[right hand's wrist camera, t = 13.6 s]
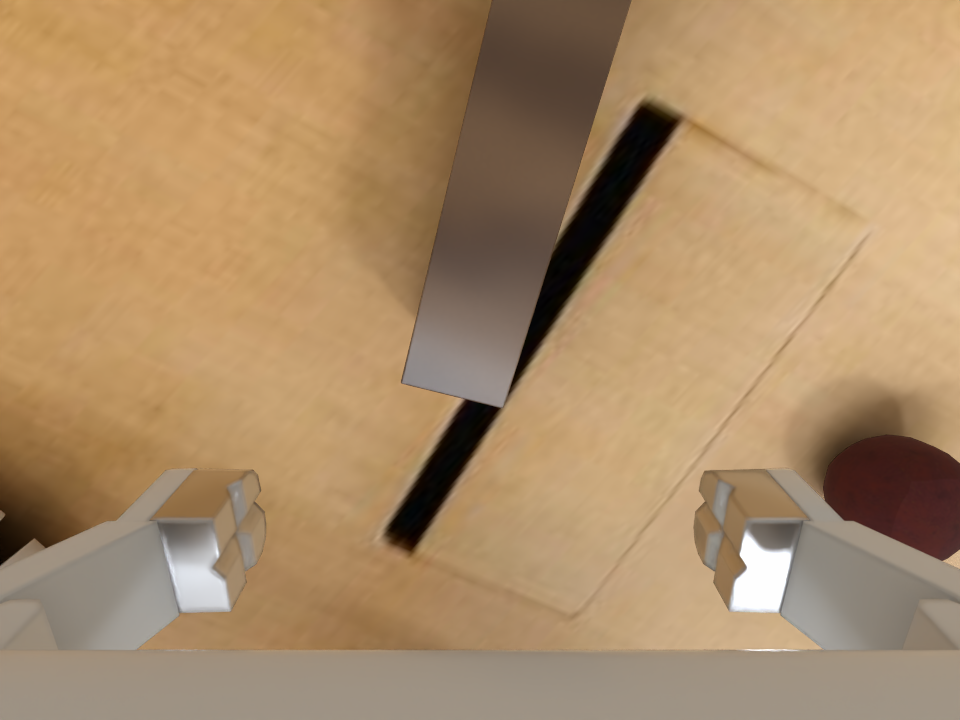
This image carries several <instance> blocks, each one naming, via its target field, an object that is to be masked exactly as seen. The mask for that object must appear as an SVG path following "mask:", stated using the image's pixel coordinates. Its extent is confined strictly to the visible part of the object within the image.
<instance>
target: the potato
mask: <svg viewBox="0 0 960 720" xmlns="http://www.w3.org/2000/svg"><path fill="white" fill-rule="evenodd" d="M823 490H824V497H825V502H826V503H827V504H828V505H829V506H830V507H831V508H832V509H833V510H834V511H835V512H836V513H837V514H838V515H839V516H840V517H841V518H842V519H843V520H844V521H854V522H857V523H859V524H861V525H863V526H866V527H868V528H870V529H872V530H874V531H877V532H879V533H881V534H883V535H885V536H888V537H890V538H892V539H894V540H896V541H899V542H901V543H903V544H905V545H908V546H910V547H912V548H914V549H916V550H919V551H921V552H923V553H925V554H927V555H930V556H932V557H934V558H936V559H939V560H941V561H943V560H945V559H947V558H949V557H950V556H952V555H953V554H954V553H956V552H957V551H958V550H960V463H959V462H958V461H956V460H955V459H954V458H953V457H951V456H950V455H949V454H947V453H945V452H943V451H941V450H940V449H938V448H936V447H934V446H931V445H929V444H926V443H924V442H921V441H919V440H916V439H913V438H911V437H904V436H895V435H882V436H877V437H871V438H867V439H864V440H861V441H859V442H857V443H855V444H853V445H851V446H849V447H848V448H847V449H845V450H844V451H843V452H841V453H840V454H839V455H838V456H836V458H835V459H834V460H833V461H832V462H831V464H830V465H829V466H828V470H827V473H826V477H825V480H824V486H823Z"/></svg>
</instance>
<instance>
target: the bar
mask: <svg viewBox="0 0 960 720" xmlns="http://www.w3.org/2000/svg"><path fill="white" fill-rule="evenodd" d="M630 4H631V0H492V3H491V7H490V11H489V16H488V20H487V24H486V28H485V32H484V37H483V41H482V45H481V49H480V53H479V57H478V62H477V66H476V70H475V74H474V78H473V83H472V87H471V91H470V95H469V99H468V103H467V108H466V112H465V116H464V120H463V124H462V129H461V133H460V137H459V141H458V145H457V149H456V154H455V158H454V162H453V166H452V170H451V175H450V179H449V183H448V187H447V191H446V196H445V200H444V204H443V208H442V212H441V216H440V221H439V225H438V229H437V233H436V237H435V242H434V246H433V250H432V254H431V258H430V262H429V267H428V271H427V275H426V279H425V283H424V288H423V292H422V296H421V300H420V304H419V309H418V313H417V317H416V321H415V325H414V329H413V334H412V338H411V342H410V346H409V350H408V355H407V359H406V363H405V367H404V371H403V375H402V380H401V383H402V384H406V385H410V386H414V387H418V388H422V389H426V390H430V391H434V392H438V393H443V394H447V395H451V396H455V397H459V398H463V399H467V400H471V401H475V402H479V403H483V404H488V405H492V406H496V407H500V408H503V407H504V405H505V401H506V398H507V395H508V392H509V389H510V385H511V382H512V379H513V376H514V373H515V370H516V366H517V363H518V360H519V357H520V354H521V350H522V347H523V344H524V341H525V338H526V335H527V331H528V328H529V325H530V322H531V319H532V315H533V312H534V309H535V306H536V303H537V300H538V296H539V293H540V290H541V287H542V284H543V280H544V277H545V274H546V271H547V268H548V265H549V261H550V258H551V255H552V252H553V249H554V245H555V242H556V239H557V236H558V233H559V230H560V226H561V223H562V220H563V217H564V214H565V210H566V207H567V204H568V201H569V198H570V195H571V191H572V188H573V185H574V182H575V179H576V175H577V172H578V169H579V166H580V163H581V159H582V156H583V153H584V150H585V147H586V144H587V140H588V137H589V134H590V131H591V128H592V124H593V121H594V118H595V115H596V112H597V109H598V105H599V102H600V99H601V96H602V93H603V89H604V86H605V83H606V80H607V77H608V74H609V70H610V67H611V64H612V61H613V58H614V54H615V51H616V48H617V45H618V42H619V39H620V35H621V32H622V29H623V26H624V23H625V19H626V16H627V13H628V10H629V7H630Z"/></svg>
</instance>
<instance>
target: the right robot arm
mask: <svg viewBox="0 0 960 720" xmlns="http://www.w3.org/2000/svg"><path fill="white" fill-rule="evenodd" d="M260 492H261V488H260V483H259V478H258V474H257V473H256V472H255V471H254V470H239V469H196V468H186V469H169V470H165V471H164V472H163V473H162V474H161V475H160V476H159V478H158V479H157V480H156V481H155V482H154V483H153V484H152V485H151V486H150V487H149V488H148V489H147V490H146V491H145V492H144V493H143V494H142V495H141V496H140V497H139V498H138V499H137V500H136V501H135V502H134V503H133V504H132V505H131V506H130V507H129V508H128V509H127V510H126V511H125V512H124V513H123V514H122V515H121V516H120V517H119V518H118V519H117V520H116V521H106V522H103V523H101V524H99V525H97V526H94V527H92V528H90V529H88V530H86V531H83V532H81V533H79V534H77V535H74V536H72V537H70V538H68V539H66V540H63V541H61V542H59V543H57V544H55V545H52V546H50V547H48V548H46V549H43V550H41V551H39V552H37V553H35V554H32V555H30V556H28V557H26V558H23V559H21V560H19V561H17V562H15V563H12V564H10V565H8V566H6V567H4V568H1V569H0V720H960V569H958V568H956V567H954V566H952V565H950V564H947V563H945V562H943V561H941V560H939V559H936V558H934V557H932V556H930V555H927V554H925V553H923V552H921V551H919V550H916V549H914V548H912V547H910V546H908V545H905V544H903V543H901V542H899V541H896V540H894V539H892V538H890V537H888V536H885V535H883V534H881V533H879V532H877V531H874V530H872V529H870V528H868V527H866V526H863V525H861V524H859V523H857V522H854V521H844V520H843V519H842V518H841V517H840V516H839V515H838V514H837V513H836V512H835V511H834V510H833V509H832V508H831V507H830V506H829V505H828V504H827V503H826V502H825V501H824V500H823V499H822V498H821V497H820V496H819V495H818V494H817V493H816V492H815V491H814V490H813V489H812V488H811V487H810V486H809V484H808V483H807V482H806V481H805V480H804V479H803V478H802V477H801V476H800V475H799V474H798V473H797V472H796V471H794V470H792V469H789V468H778V469H749V470H710V471H704V473H703V475H702V478H701V481H700V487H699V492H700V493H701V495H702V497H703V498H704V500H705V502H704V503H703V504H702V505H701V506H700V508H699V509H698V510H697V511H696V512H695V520H694V538H695V544H696V548H697V551H698V554H699V556H700V558H701V560H702V562H703V564H704V565H706V566H707V567H709V568H710V569H712V570H713V571H715V576H714V582H713V583H714V584H715V586H716V588H717V590H718V592H719V594H720V595H721V597H722V599H723V601H724V603H725V605H726V606H727V608H728V610H729V611H730V612H766V613H781V616H782V617H783V618H785V619H786V620H787V621H788V622H790V623H791V624H792V625H793V626H795V627H796V628H797V629H799V630H800V631H801V632H802V633H804V634H805V635H806V636H807V637H809V638H810V639H811V640H812V641H814V642H815V643H816V644H817V645H819V646H820V647H821V648H823V649H824V650H136V649H138V648H139V647H140V646H141V645H143V644H144V643H145V642H147V641H148V640H149V639H150V638H152V637H153V636H154V635H155V634H157V633H158V632H159V631H160V630H162V629H163V628H164V627H165V626H167V625H168V624H169V623H171V622H172V621H173V620H174V619H176V618H177V617H178V616H179V613H193V612H228V611H231V610H232V608H233V607H234V605H235V603H236V601H237V599H238V597H239V596H240V594H241V592H242V590H243V588H244V586H245V584H246V583H247V582H246V576H245V571H247V570H248V569H250V568H251V567H253V566H254V565H256V564H257V562H258V560H259V558H260V556H261V554H262V552H263V547H264V543H265V539H266V519H265V512H264V511H263V510H262V509H261V508H260V506H259V505H258V504H257V503H256V502H255V500H256V498H257V497H258V495H259V493H260Z"/></svg>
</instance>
